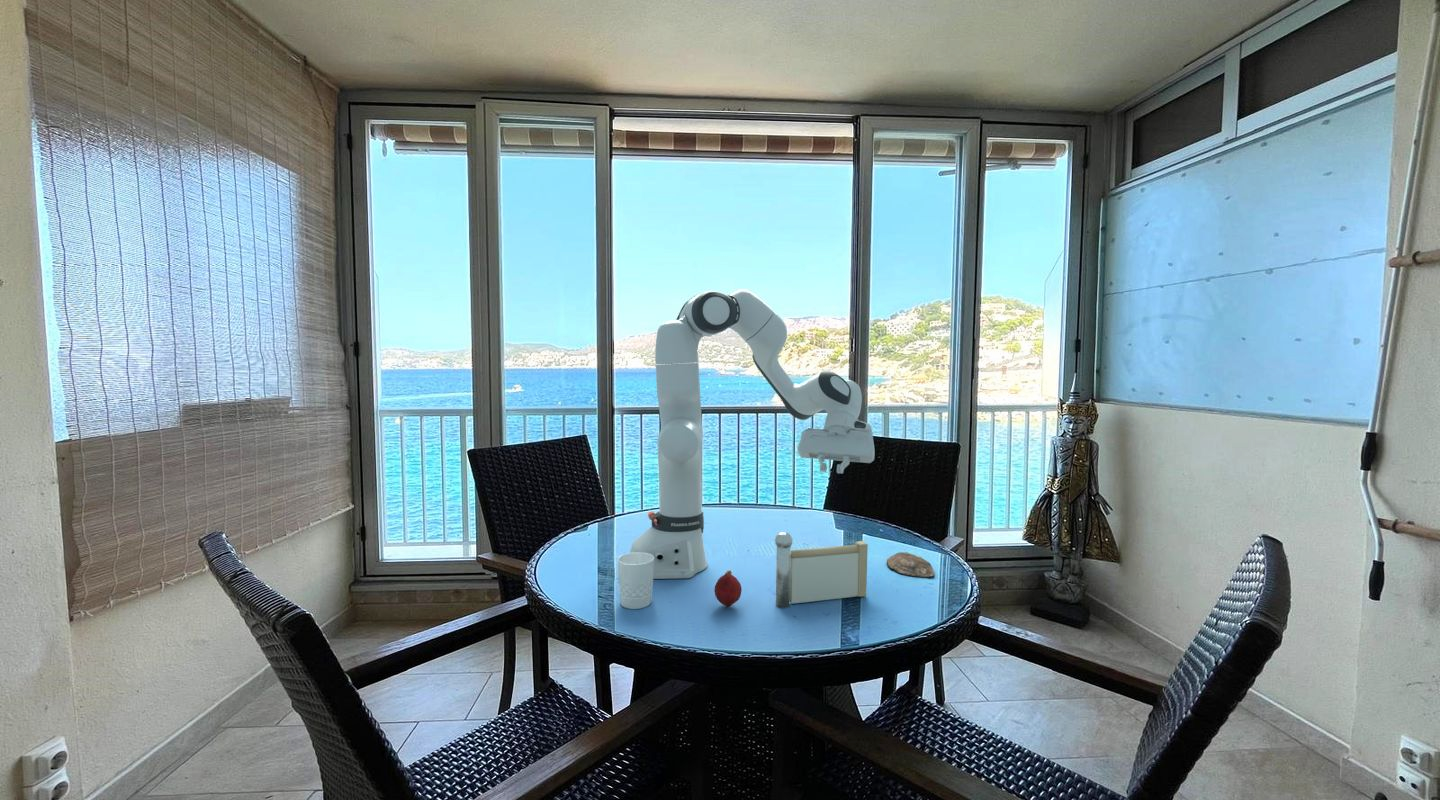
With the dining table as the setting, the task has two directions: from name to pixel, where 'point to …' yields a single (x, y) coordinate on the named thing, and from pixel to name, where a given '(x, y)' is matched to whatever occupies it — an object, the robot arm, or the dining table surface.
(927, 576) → the shell
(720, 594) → the onion
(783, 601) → the gate post
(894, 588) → the dining table surface
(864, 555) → the gate leaf
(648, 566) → the white cup
